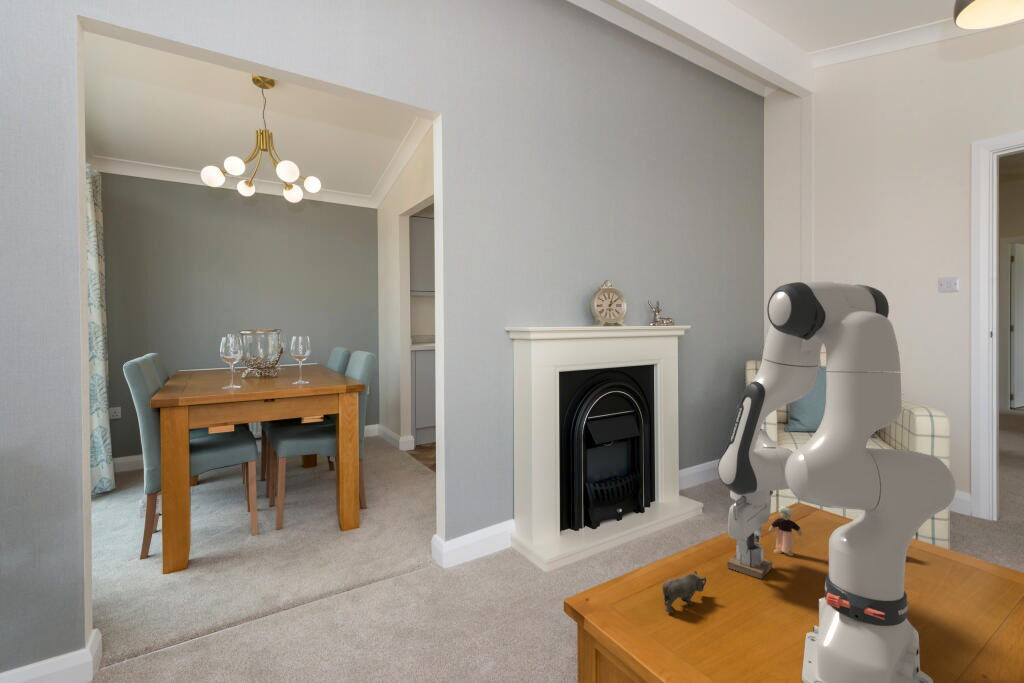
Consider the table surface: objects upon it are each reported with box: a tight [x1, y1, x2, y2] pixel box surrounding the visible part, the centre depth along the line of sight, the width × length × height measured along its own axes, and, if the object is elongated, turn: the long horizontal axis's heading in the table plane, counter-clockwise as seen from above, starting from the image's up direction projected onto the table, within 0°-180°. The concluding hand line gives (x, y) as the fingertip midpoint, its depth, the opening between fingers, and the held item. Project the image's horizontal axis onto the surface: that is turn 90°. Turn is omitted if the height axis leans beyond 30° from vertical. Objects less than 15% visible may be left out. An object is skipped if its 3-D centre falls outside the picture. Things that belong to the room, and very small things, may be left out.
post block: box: [726, 533, 773, 580], centre depth 122 cm, size 8×8×10 cm
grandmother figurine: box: [768, 505, 803, 557], centre depth 129 cm, size 8×4×13 cm, turn 73°
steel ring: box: [735, 542, 764, 567], centre depth 122 cm, size 6×6×4 cm
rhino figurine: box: [662, 570, 707, 613], centre depth 107 cm, size 4×14×6 cm, turn 119°
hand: (749, 547), depth 121 cm, fingers open, 8 cm apart
